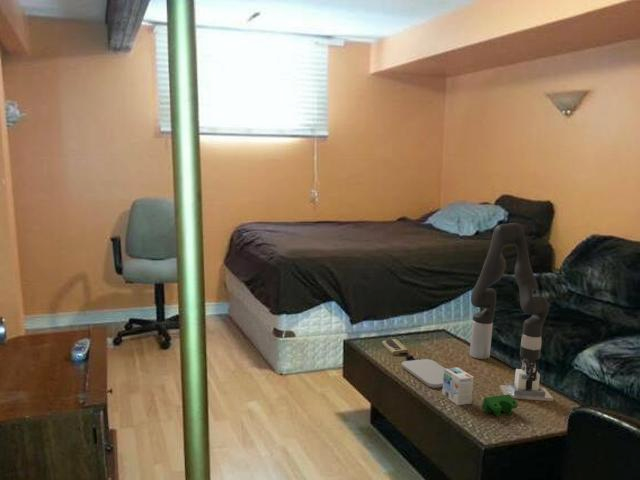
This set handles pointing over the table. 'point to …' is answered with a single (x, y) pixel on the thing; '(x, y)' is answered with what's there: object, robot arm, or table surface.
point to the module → (521, 380)
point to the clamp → (499, 404)
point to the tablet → (426, 371)
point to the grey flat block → (525, 393)
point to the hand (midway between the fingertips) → (526, 386)
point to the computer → (395, 347)
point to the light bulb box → (457, 386)
